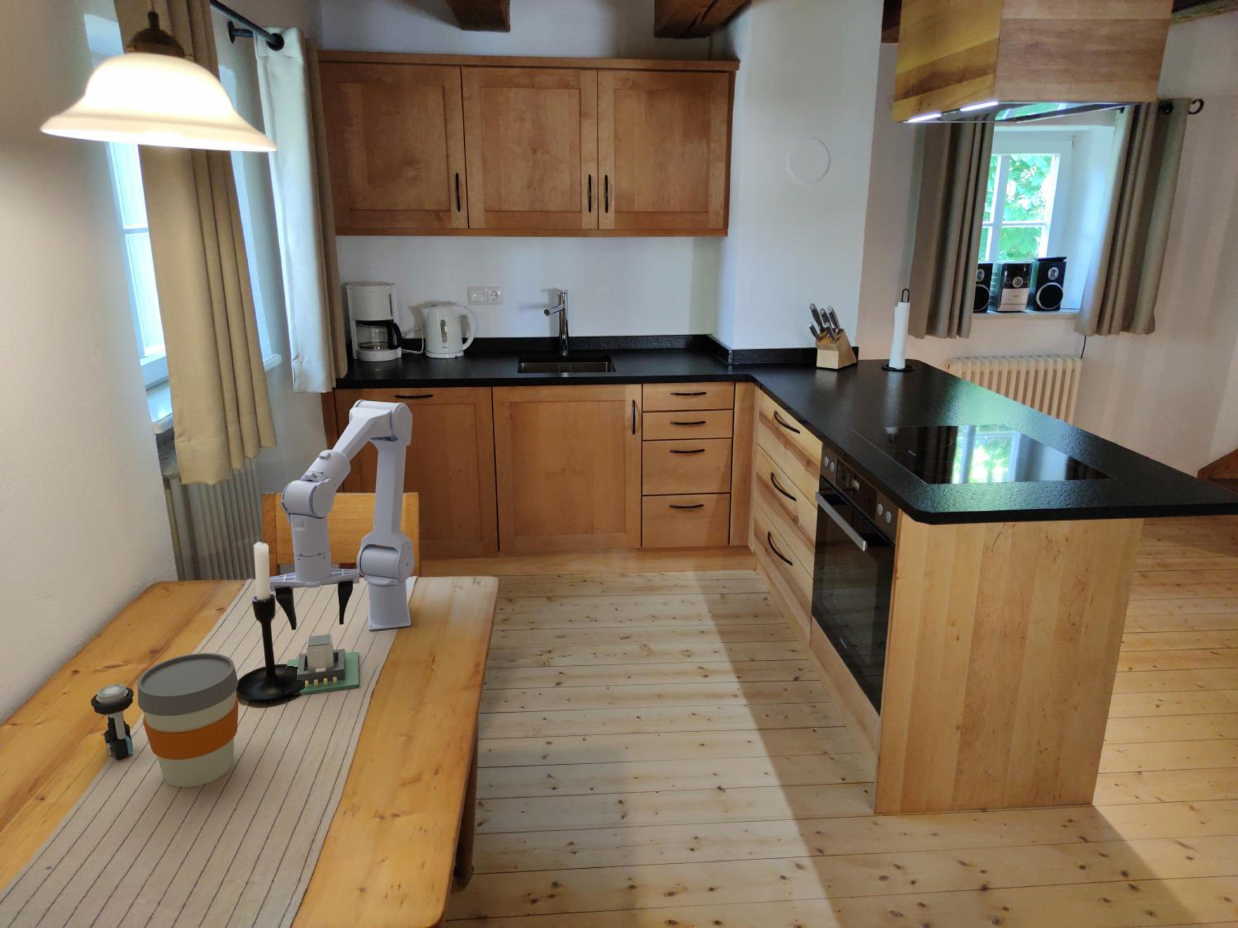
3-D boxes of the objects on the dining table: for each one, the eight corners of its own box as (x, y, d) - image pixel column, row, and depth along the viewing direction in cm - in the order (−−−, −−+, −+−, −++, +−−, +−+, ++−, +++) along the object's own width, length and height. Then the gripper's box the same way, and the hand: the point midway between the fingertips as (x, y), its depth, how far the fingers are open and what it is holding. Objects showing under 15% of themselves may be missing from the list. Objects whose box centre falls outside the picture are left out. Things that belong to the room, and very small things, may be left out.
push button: (91, 747, 124) (81, 687, 122) (130, 732, 128) (121, 674, 125) (107, 766, 120) (97, 704, 117) (147, 750, 124) (138, 689, 121)
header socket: (288, 662, 150) (286, 648, 149) (358, 654, 153) (357, 640, 152) (283, 697, 139) (281, 681, 138) (358, 687, 142) (357, 672, 141)
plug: (310, 668, 147) (307, 636, 145) (334, 665, 148) (331, 633, 146) (309, 680, 143) (306, 647, 141) (333, 677, 144) (331, 644, 142)
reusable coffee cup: (197, 804, 112) (184, 705, 108) (128, 782, 116) (113, 686, 113) (266, 752, 124) (256, 661, 120) (200, 735, 128) (188, 645, 124)
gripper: (262, 563, 134) (270, 640, 138) (357, 554, 139) (362, 629, 142) (266, 548, 141) (274, 621, 144) (357, 540, 145) (362, 612, 149)
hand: (318, 624), depth 144 cm, fingers open, 7 cm apart
